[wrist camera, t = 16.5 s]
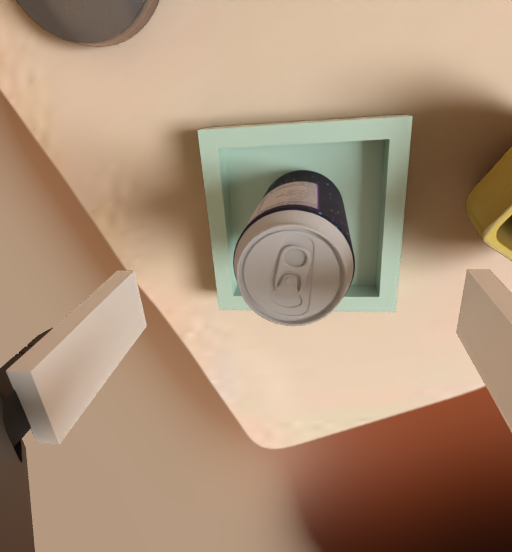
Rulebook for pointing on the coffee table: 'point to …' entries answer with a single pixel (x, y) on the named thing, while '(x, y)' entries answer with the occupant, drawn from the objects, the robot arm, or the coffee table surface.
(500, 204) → the flower pot
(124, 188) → the coffee table surface
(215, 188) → the tray
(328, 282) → the beverage can
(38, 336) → the robot arm
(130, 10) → the crank base
